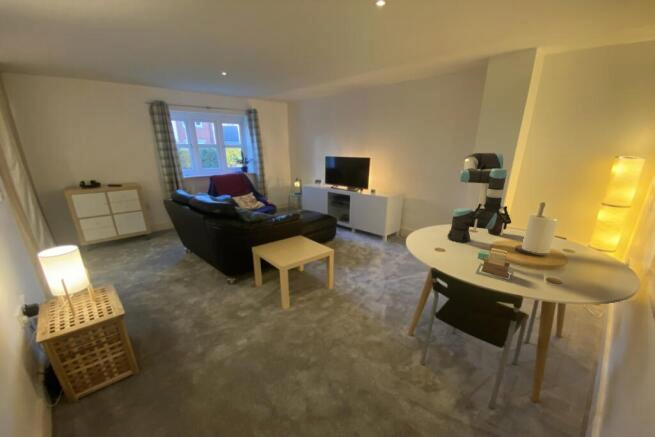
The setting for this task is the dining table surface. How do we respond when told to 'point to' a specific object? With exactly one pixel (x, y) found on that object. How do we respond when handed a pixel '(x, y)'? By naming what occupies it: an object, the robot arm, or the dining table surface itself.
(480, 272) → the grey flat square plate
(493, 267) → the walnut foundation
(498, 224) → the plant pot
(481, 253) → the teal cube
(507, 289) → the dining table surface
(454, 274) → the dining table surface
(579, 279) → the dining table surface
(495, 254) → the oak block
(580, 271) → the dining table surface
